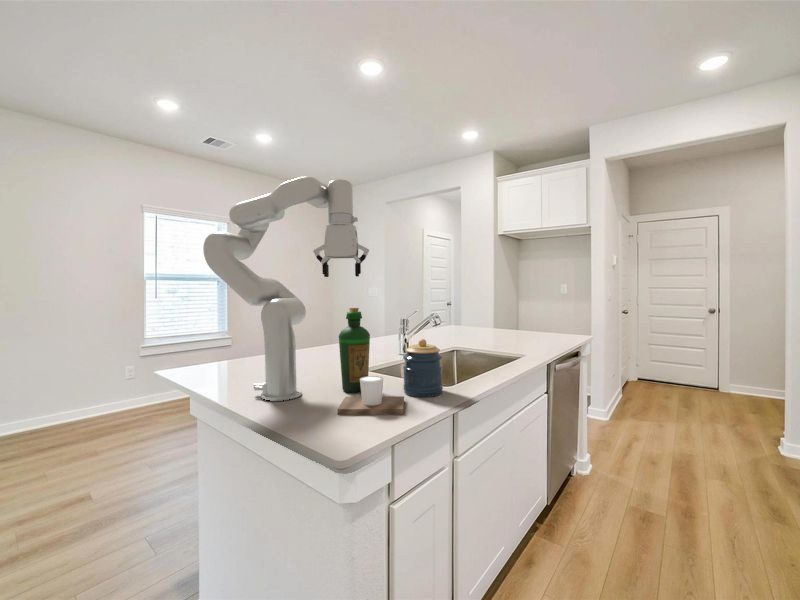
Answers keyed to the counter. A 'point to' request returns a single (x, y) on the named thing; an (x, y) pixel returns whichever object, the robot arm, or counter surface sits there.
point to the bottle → (354, 352)
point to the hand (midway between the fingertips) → (341, 276)
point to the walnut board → (372, 406)
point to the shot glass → (371, 390)
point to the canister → (422, 370)
